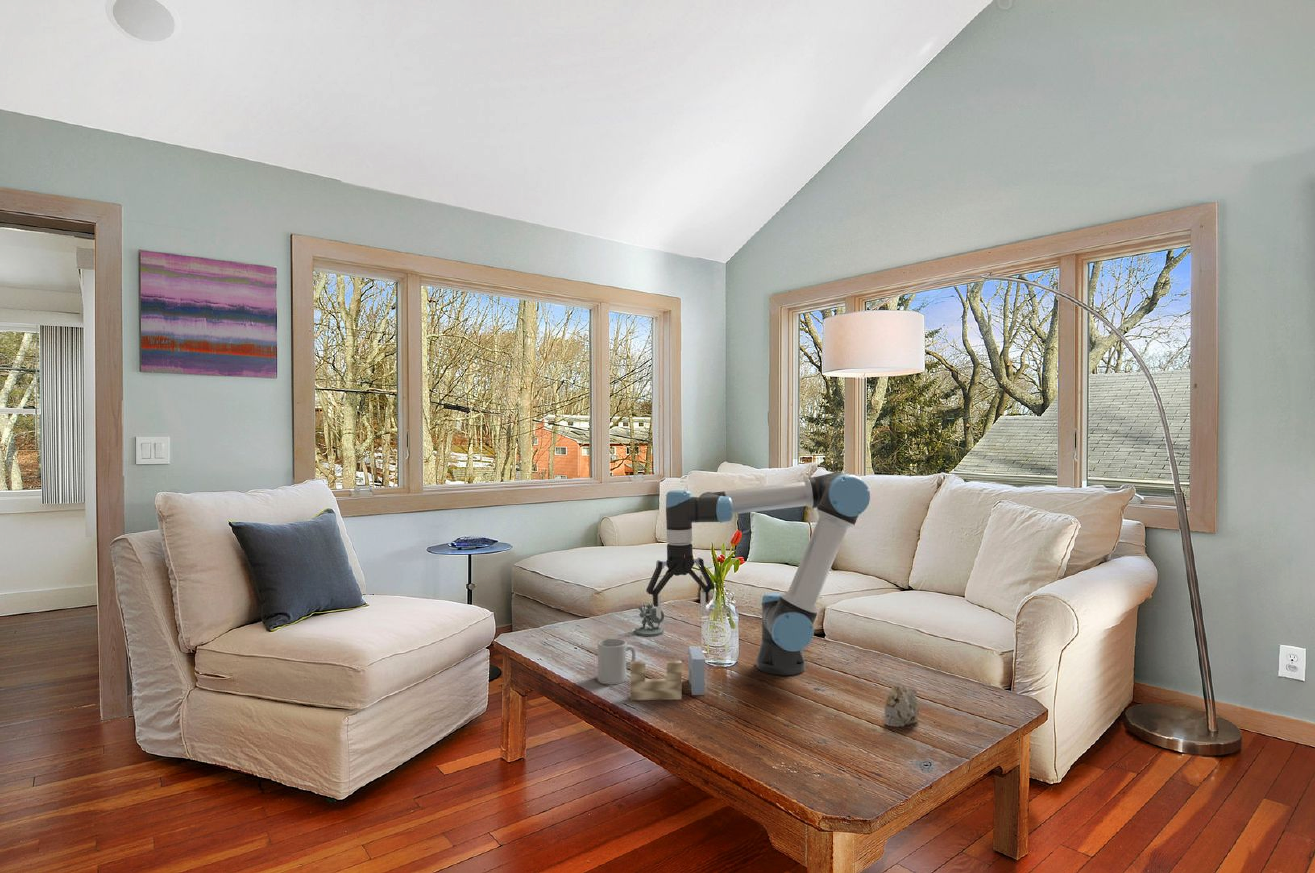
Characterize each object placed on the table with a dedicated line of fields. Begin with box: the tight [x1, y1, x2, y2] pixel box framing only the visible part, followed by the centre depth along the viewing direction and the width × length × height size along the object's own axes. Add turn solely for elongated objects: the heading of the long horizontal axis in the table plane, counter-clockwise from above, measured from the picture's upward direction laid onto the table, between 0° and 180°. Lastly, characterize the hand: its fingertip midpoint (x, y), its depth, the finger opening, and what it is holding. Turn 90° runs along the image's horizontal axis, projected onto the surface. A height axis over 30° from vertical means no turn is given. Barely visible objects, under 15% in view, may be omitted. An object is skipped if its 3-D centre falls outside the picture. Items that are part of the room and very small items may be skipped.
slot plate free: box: [688, 645, 706, 696], centre depth 199 cm, size 12×4×10 cm, turn 2°
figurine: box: [634, 603, 665, 638], centre depth 254 cm, size 11×11×12 cm
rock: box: [883, 685, 920, 728], centre depth 176 cm, size 12×7×10 cm, turn 133°
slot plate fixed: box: [630, 660, 683, 701], centre depth 190 cm, size 14×2×10 cm, turn 92°
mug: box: [597, 638, 637, 685], centre depth 206 cm, size 12×8×11 cm
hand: (681, 615), depth 202 cm, fingers open, 13 cm apart
